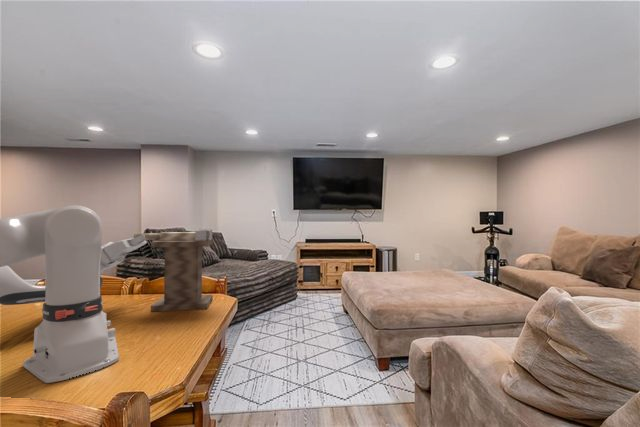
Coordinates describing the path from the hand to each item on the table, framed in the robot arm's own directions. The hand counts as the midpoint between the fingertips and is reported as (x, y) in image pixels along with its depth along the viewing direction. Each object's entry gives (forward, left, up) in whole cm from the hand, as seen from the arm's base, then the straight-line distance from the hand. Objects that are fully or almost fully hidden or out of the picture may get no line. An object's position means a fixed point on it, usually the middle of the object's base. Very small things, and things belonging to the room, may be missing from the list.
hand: (147, 235), depth 115 cm
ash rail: (-5, -7, -2) cm, 9 cm away
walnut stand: (-8, -11, -28) cm, 31 cm away
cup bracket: (-13, -16, -2) cm, 21 cm away
